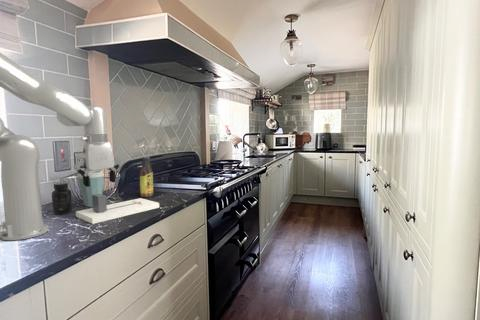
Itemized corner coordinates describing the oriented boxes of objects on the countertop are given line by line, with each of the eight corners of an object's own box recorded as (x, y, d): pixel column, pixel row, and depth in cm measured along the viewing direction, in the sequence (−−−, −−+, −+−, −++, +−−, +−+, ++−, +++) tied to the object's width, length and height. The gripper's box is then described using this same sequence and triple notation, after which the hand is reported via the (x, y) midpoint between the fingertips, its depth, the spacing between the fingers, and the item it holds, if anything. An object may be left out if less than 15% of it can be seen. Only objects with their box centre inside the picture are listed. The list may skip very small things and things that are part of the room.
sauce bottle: (149, 197, 142) (147, 157, 140) (137, 197, 143) (136, 157, 141) (155, 194, 148) (154, 156, 146) (144, 194, 150) (143, 156, 148)
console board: (92, 223, 103) (92, 218, 103) (76, 216, 112) (75, 211, 111) (159, 207, 124) (159, 202, 124) (141, 202, 133) (140, 197, 133)
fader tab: (99, 212, 109) (98, 196, 108) (92, 210, 112) (92, 195, 111) (106, 210, 111) (106, 195, 111) (100, 208, 114) (99, 193, 114)
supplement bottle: (55, 211, 119) (53, 182, 118) (74, 209, 122) (72, 181, 120) (50, 215, 113) (48, 185, 112) (70, 214, 115) (68, 184, 114)
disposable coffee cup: (87, 209, 122) (85, 174, 120) (73, 205, 128) (71, 172, 126) (110, 203, 131) (109, 171, 129) (96, 200, 136) (95, 169, 135)
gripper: (76, 141, 100) (80, 189, 102) (123, 138, 113) (126, 181, 115) (67, 140, 105) (72, 187, 107) (113, 137, 118) (117, 179, 120)
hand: (100, 184), depth 111 cm, fingers open, 9 cm apart
